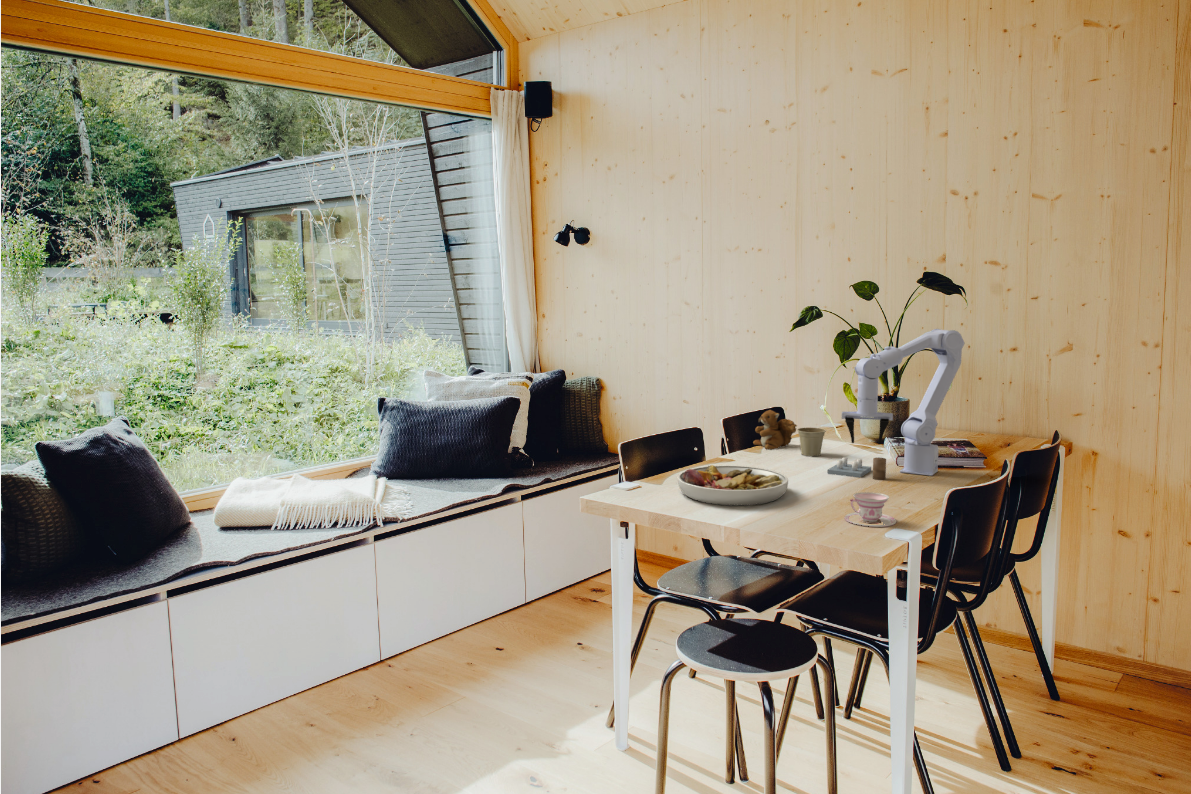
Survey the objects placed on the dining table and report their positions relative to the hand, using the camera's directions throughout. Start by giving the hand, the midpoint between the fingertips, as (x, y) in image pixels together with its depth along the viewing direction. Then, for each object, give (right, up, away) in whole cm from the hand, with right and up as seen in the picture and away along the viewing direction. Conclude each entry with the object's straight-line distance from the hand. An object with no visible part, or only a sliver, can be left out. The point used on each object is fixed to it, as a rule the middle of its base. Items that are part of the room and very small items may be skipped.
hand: (866, 443), depth 248 cm
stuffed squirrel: (-17, -4, +46) cm, 49 cm away
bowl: (-44, -13, -20) cm, 50 cm away
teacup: (-15, -17, -47) cm, 52 cm away
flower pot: (-9, -6, +30) cm, 32 cm away
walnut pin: (+2, -10, -5) cm, 12 cm away
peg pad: (-4, -9, +4) cm, 11 cm away
